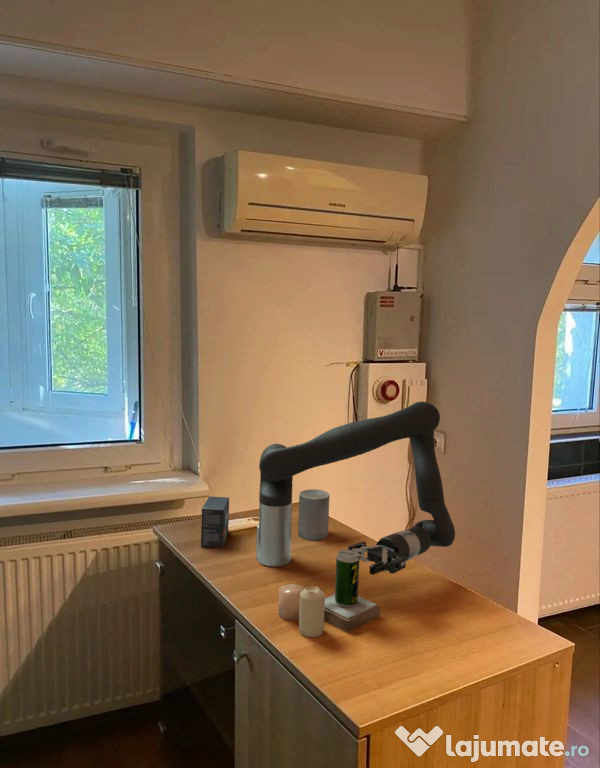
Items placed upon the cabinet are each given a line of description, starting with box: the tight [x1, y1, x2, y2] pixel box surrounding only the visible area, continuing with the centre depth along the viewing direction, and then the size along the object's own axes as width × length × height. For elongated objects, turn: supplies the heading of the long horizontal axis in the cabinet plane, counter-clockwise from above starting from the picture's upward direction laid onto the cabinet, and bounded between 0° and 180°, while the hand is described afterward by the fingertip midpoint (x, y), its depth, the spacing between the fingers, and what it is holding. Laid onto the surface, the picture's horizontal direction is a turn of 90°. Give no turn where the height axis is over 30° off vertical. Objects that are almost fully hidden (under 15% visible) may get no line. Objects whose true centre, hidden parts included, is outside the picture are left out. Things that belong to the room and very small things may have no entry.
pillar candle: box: [297, 488, 331, 541], centre depth 195 cm, size 10×10×15 cm
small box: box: [200, 496, 230, 548], centre depth 189 cm, size 13×7×12 cm, turn 179°
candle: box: [298, 585, 326, 638], centre depth 135 cm, size 6×6×10 cm
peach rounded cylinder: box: [278, 583, 305, 621], centre depth 143 cm, size 6×6×6 cm
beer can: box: [334, 549, 360, 608], centre depth 143 cm, size 5×5×12 cm
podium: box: [324, 593, 380, 633], centre depth 143 cm, size 11×11×3 cm
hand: (356, 564), depth 145 cm, fingers open, 8 cm apart
